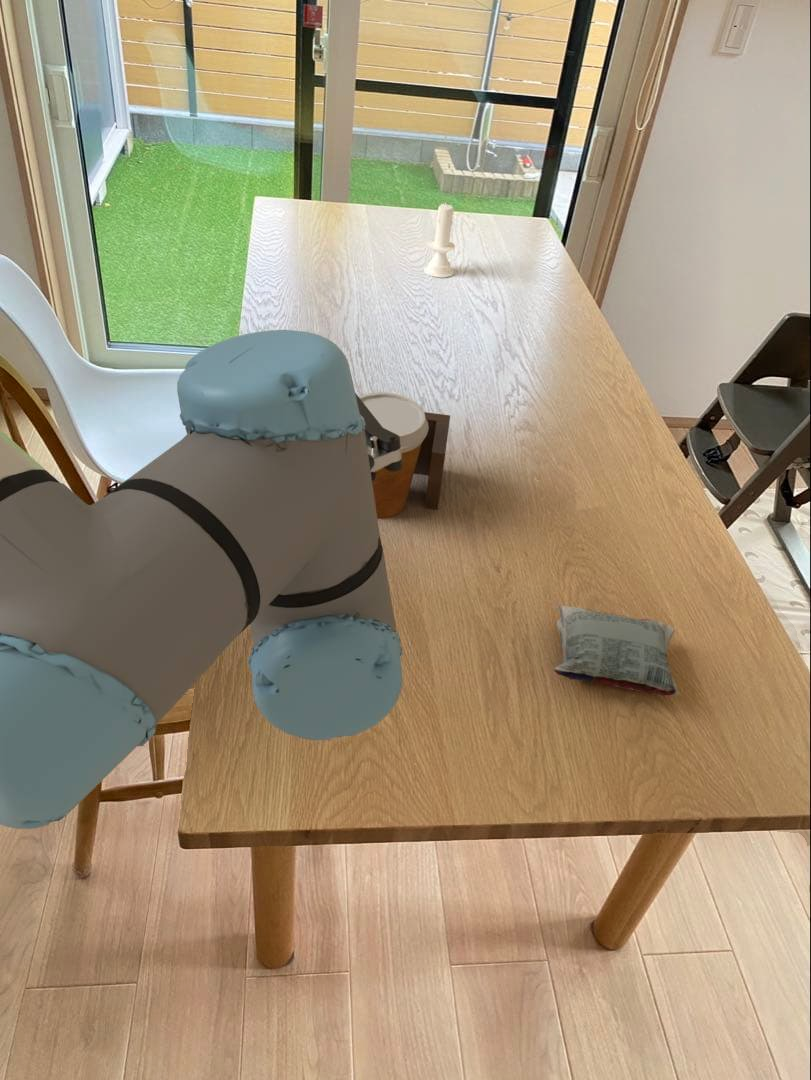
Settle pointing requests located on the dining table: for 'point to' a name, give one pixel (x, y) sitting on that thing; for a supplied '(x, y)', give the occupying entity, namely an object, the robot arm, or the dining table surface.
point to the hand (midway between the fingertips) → (308, 372)
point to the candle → (441, 244)
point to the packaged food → (615, 650)
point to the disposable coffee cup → (412, 430)
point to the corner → (433, 456)
